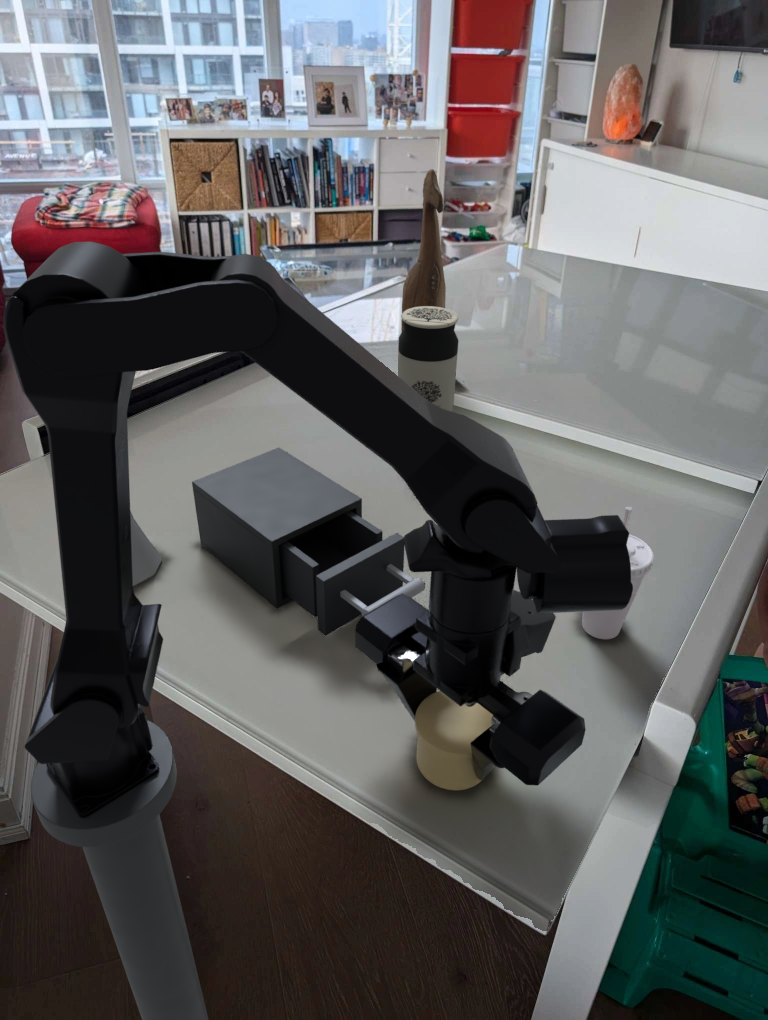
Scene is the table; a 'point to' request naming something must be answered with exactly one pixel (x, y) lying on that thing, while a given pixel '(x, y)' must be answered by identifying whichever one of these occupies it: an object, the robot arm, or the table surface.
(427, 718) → the beige short cylinder
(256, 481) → the mini filing cabinet
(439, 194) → the bird sculpture
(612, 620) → the smoothie
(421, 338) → the travel mug
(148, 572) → the flask
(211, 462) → the table surface
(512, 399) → the table surface
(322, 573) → the drawer
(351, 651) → the table surface
